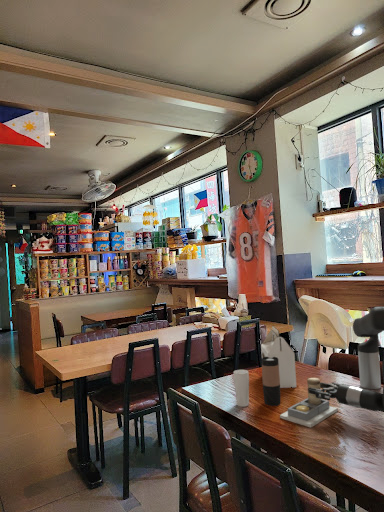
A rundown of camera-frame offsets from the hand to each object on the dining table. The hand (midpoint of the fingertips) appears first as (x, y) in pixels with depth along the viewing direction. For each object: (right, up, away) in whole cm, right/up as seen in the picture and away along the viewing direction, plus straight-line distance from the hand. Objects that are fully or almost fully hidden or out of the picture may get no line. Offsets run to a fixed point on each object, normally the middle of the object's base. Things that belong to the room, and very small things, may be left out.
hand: (314, 387), depth 162 cm
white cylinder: (-29, -12, +11) cm, 33 cm away
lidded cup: (0, -9, 0) cm, 9 cm away
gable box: (-6, -11, +42) cm, 43 cm away
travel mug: (-15, -11, +12) cm, 22 cm away
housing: (-3, -10, -3) cm, 11 cm away
